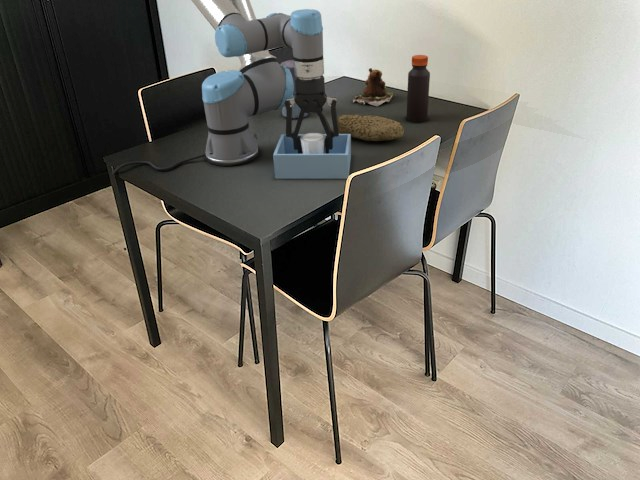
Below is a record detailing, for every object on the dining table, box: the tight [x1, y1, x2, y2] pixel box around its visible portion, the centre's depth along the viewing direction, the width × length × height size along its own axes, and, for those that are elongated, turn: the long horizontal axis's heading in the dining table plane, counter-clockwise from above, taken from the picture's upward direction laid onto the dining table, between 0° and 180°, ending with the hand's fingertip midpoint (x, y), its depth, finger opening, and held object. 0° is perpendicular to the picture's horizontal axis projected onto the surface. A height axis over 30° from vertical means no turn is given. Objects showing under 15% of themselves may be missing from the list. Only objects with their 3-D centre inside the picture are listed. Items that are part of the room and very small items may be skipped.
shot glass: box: [300, 132, 326, 154], centre depth 150 cm, size 7×7×7 cm
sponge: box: [338, 113, 405, 142], centre depth 167 cm, size 13×8×20 cm
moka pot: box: [279, 54, 309, 119], centre depth 184 cm, size 10×15×20 cm, turn 124°
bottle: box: [405, 54, 431, 123], centre depth 176 cm, size 7×7×20 cm
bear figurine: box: [352, 67, 394, 107], centre depth 197 cm, size 14×15×12 cm
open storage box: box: [272, 133, 352, 180], centre depth 151 cm, size 20×15×7 cm
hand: (314, 160), depth 152 cm, fingers closed on shot glass, 7 cm apart
